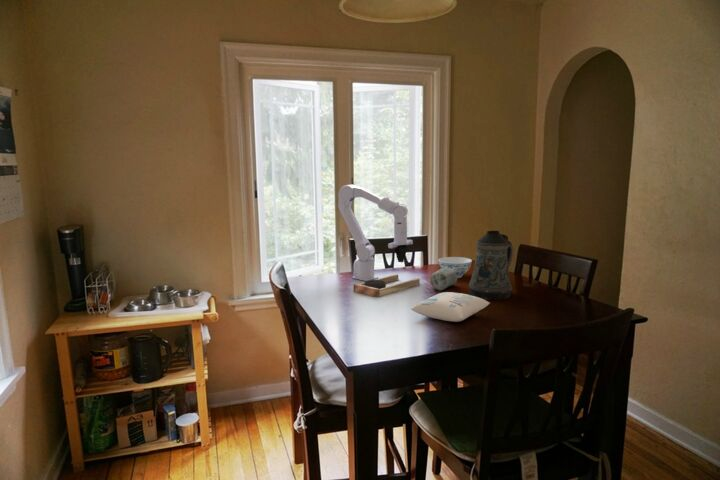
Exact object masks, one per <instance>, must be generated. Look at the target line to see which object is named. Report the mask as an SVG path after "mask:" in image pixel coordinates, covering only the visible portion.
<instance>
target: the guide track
mask: <svg viewBox="0 0 720 480" xmlns="http://www.w3.org/2000/svg"><path fill="white" fill-rule="evenodd" d="M374 280H381V281H384V282H385V283H386V284H388V283H391V282H396V281H398V280H399V274H398V273H395V274H390V275H387V276H383V277H380V278H379V277H378V278H377V279H374ZM420 280H421V279H420V277H419V278H418V277H416V278H414V279H409V280H406V281H403V282H399V283H396V284H392V285H389V286H386V287H385V288H381V289H378V288H373V287H369V286H365V285H364V283H365V282H366V281H365V282H360V283H353V284H352V287H353V292H355V293H359V294H363V295H367V296H372V297H375V298H379V297H382V296H385V295H389V294H392V293H395V292H398V291H401V290H402V291H403V290H405V289H408V288H411V287H414V286H418V285H421V281H420Z"/></svg>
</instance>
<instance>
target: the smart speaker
mask: <svg viewBox="0 0 720 480" xmlns="http://www.w3.org/2000/svg"><path fill="white" fill-rule="evenodd" d="M363 283H364V282H363ZM364 285H365V286H369V287H373V288H378V289H381V288H385V287H387V286H386V285H387V283H385V282H384V281H381V280H375V279H373V280H369V281H365V283H364Z"/></svg>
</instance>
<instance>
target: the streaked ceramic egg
mask: <svg viewBox="0 0 720 480" xmlns="http://www.w3.org/2000/svg"><path fill="white" fill-rule="evenodd" d="M430 282H431V285H432V287H433V288H434V289H435V290H437V291H445V290H446V289H447V288H449V287H453V286H454V285H455V284H456V283H457V282H458V278H457V275H456V272H455V271H454V270H453V269H451V268H443V269H441V268H440V269H438V270H437V271H435V272H433V273H432V274H431V276H430Z"/></svg>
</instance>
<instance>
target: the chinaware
mask: <svg viewBox="0 0 720 480" xmlns="http://www.w3.org/2000/svg"><path fill="white" fill-rule="evenodd" d="M472 262H473V261H472V259H470V258H469V257H463V256H462V257H461V256H448V257H447V256H445V257H440V258H438V265H439V267H440V269H443V268H451V269H453V270H454V271H455V272H456V275H457V279H460V278H463V275H465V274H466V273H468V271H469V270H470V268H471V266H472Z"/></svg>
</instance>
